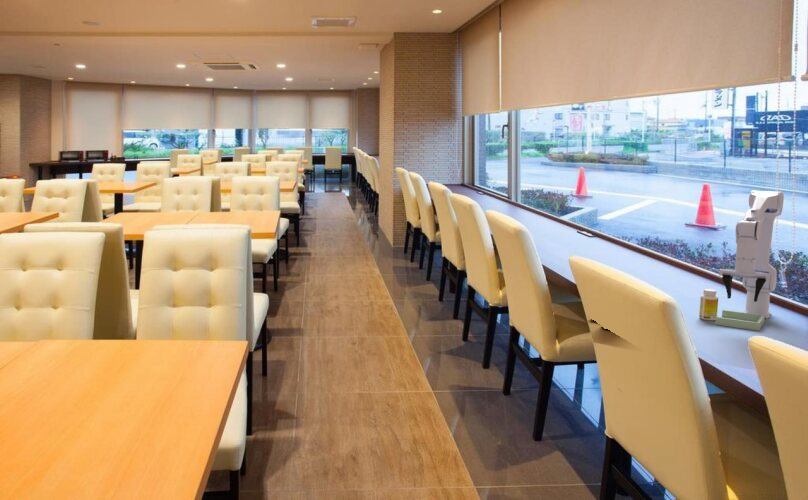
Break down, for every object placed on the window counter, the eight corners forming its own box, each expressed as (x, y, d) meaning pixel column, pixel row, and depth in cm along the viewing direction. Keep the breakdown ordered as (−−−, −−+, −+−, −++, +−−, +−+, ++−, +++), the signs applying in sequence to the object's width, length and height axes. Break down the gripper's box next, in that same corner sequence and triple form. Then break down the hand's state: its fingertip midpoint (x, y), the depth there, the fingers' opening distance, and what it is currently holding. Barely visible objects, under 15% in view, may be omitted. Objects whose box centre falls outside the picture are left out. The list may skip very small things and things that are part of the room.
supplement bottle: (720, 320, 224) (722, 291, 223) (707, 321, 222) (710, 292, 221) (707, 316, 230) (710, 287, 228) (695, 317, 228) (697, 288, 226)
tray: (722, 316, 229) (722, 309, 229) (764, 322, 222) (764, 315, 221) (715, 324, 219) (715, 317, 218) (758, 330, 211) (759, 323, 211)
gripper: (718, 257, 210) (715, 298, 212) (770, 262, 202) (766, 304, 204) (722, 254, 215) (719, 294, 218) (772, 259, 207) (768, 300, 209)
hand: (742, 299), depth 211 cm, fingers open, 7 cm apart
